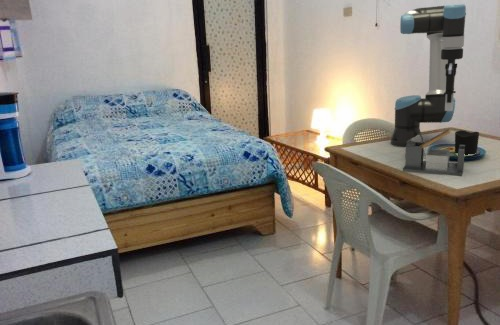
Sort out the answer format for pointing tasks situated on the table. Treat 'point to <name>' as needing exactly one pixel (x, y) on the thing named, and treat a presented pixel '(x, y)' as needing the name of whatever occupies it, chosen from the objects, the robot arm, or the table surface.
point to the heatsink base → (432, 160)
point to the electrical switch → (416, 140)
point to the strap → (436, 138)
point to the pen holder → (466, 141)
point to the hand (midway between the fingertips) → (448, 110)
